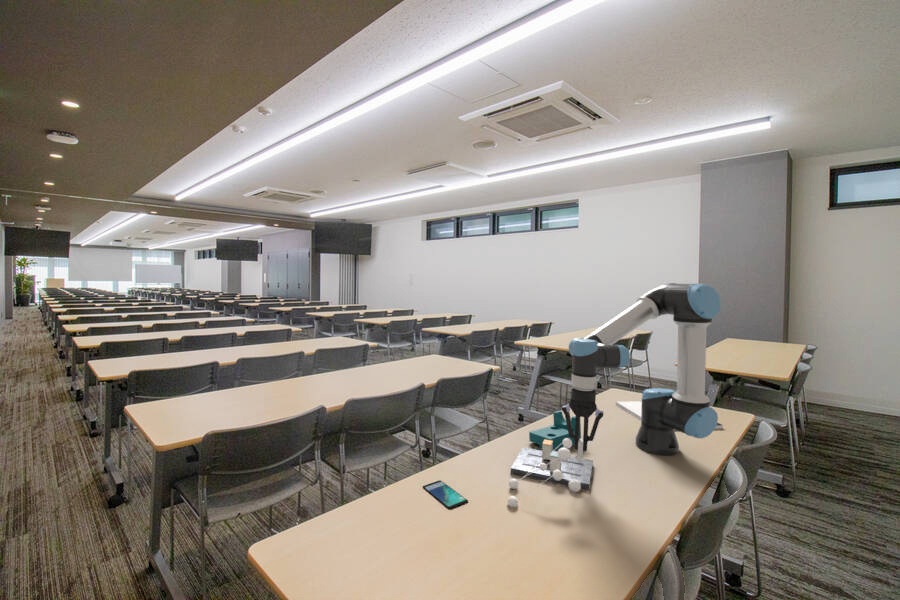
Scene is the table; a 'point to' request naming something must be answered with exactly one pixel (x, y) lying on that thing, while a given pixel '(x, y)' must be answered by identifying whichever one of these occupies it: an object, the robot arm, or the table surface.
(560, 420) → the teal l-shaped bracket
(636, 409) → the flat white panel
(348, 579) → the table surface
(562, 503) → the table surface
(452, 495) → the smartphone
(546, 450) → the fader
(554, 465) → the block
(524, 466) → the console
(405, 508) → the table surface
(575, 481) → the molecule model
